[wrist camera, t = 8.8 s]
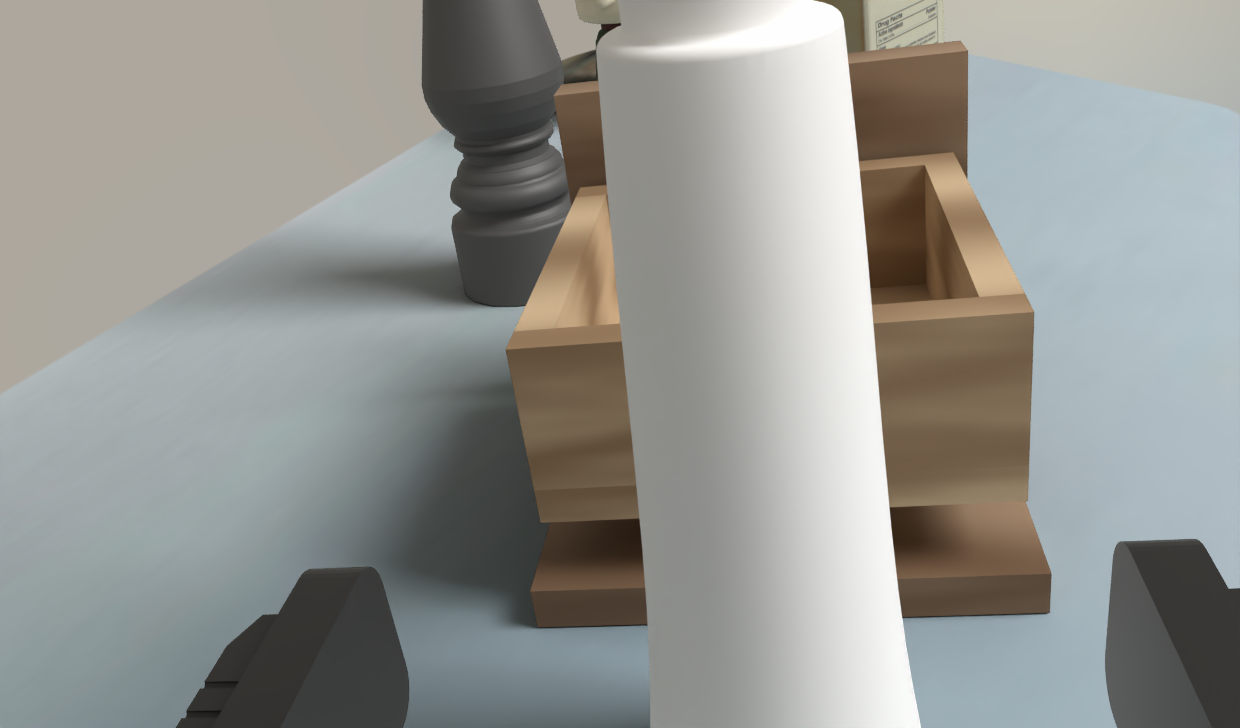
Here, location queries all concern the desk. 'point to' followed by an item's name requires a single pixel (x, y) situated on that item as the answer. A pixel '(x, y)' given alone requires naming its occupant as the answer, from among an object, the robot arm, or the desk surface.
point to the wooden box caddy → (905, 354)
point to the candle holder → (498, 139)
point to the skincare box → (890, 23)
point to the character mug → (599, 16)
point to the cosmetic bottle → (751, 367)
